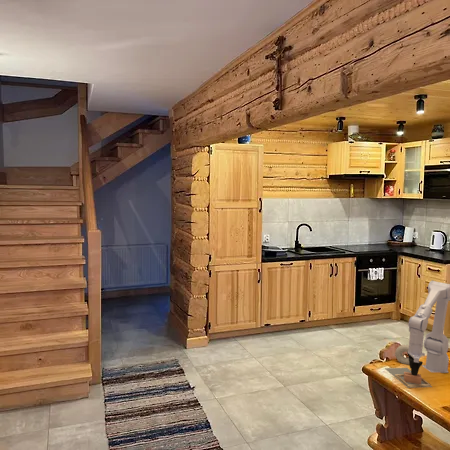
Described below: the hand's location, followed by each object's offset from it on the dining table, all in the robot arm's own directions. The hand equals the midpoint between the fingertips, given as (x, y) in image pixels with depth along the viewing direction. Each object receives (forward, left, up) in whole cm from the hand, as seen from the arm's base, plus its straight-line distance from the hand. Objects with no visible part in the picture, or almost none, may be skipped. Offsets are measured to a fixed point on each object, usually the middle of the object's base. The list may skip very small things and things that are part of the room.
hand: (413, 371), depth 198 cm
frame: (0, 0, -5) cm, 5 cm away
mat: (0, -4, -5) cm, 6 cm away
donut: (-8, -19, -5) cm, 22 cm away
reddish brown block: (0, 0, -5) cm, 5 cm away
